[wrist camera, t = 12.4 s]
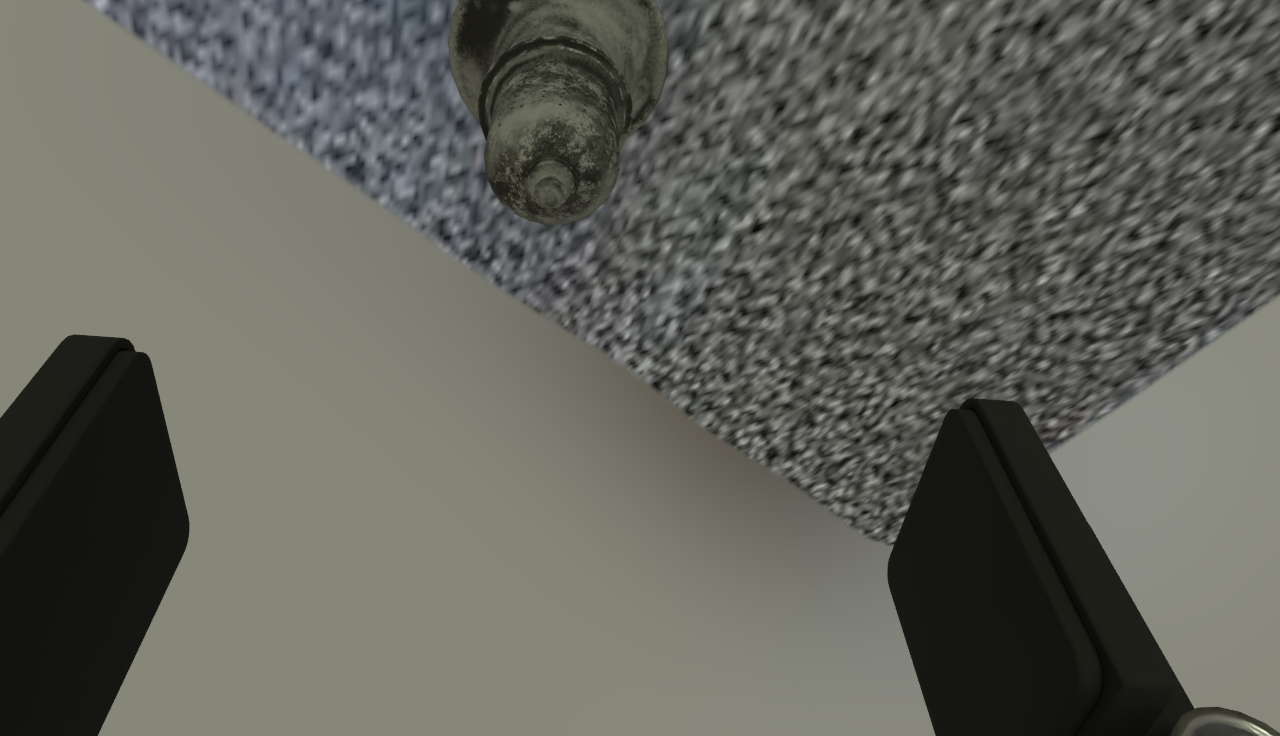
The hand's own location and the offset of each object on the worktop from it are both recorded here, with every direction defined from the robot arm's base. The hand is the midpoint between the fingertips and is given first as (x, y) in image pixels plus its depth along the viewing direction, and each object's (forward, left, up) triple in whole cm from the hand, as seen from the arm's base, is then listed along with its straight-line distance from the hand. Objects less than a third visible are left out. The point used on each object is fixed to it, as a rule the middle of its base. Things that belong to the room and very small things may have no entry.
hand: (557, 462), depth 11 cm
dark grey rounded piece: (0, -1, -21) cm, 21 cm away
